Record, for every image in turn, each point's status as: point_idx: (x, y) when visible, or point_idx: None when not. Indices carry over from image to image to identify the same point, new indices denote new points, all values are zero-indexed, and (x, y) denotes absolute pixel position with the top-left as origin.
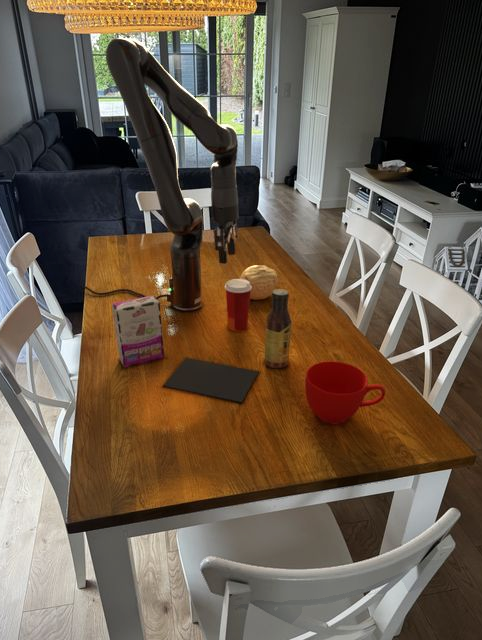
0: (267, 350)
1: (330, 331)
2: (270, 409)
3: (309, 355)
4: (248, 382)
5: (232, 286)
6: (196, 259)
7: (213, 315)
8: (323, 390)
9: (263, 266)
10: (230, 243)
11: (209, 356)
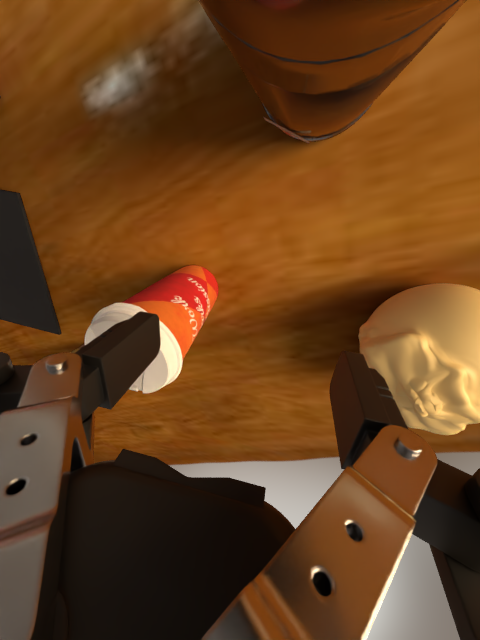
0: None
1: (228, 436)
2: (2, 346)
3: (141, 399)
4: (25, 321)
5: (88, 342)
6: (248, 51)
7: (249, 208)
8: None
9: (467, 416)
10: (353, 434)
11: (56, 244)
